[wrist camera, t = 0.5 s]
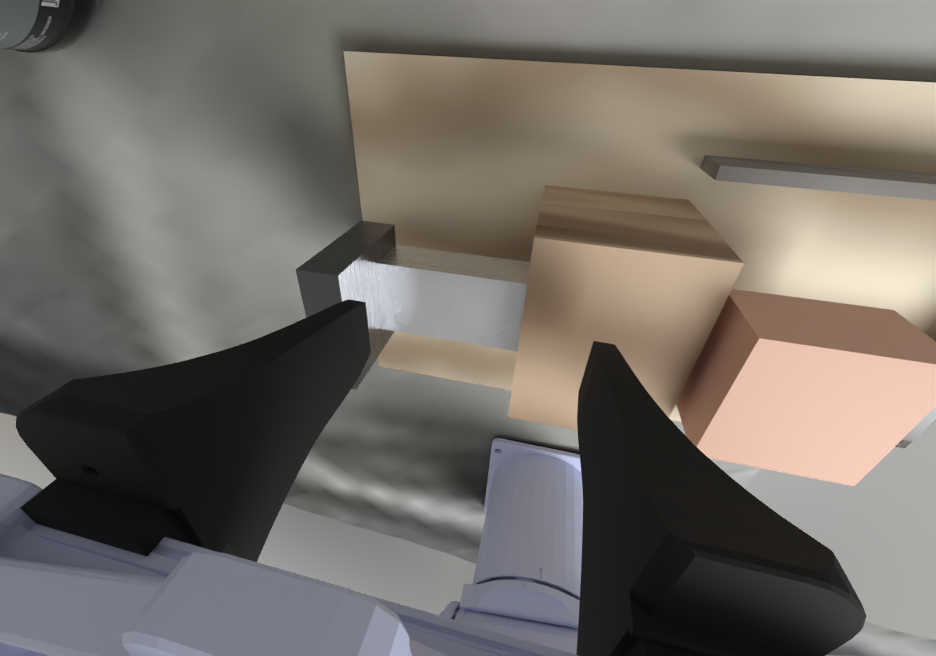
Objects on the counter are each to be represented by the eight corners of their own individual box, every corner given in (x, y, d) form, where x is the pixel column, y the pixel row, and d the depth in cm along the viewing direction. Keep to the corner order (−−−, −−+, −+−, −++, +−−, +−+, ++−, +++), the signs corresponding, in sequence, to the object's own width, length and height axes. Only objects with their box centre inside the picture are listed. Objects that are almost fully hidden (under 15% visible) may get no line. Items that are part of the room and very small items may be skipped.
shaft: (798, 386, 17) (871, 489, 13) (372, 317, 20) (321, 382, 16) (872, 283, 14) (996, 373, 10) (361, 220, 17) (295, 269, 13)
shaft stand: (865, 442, 22) (976, 585, 16) (384, 357, 27) (329, 443, 20) (1194, 96, 13) (1782, 125, 6) (354, 51, 17) (233, 44, 11)
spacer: (809, 418, 15) (854, 486, 13) (673, 395, 16) (691, 454, 14) (894, 310, 12) (972, 369, 10) (724, 287, 13) (759, 338, 11)
